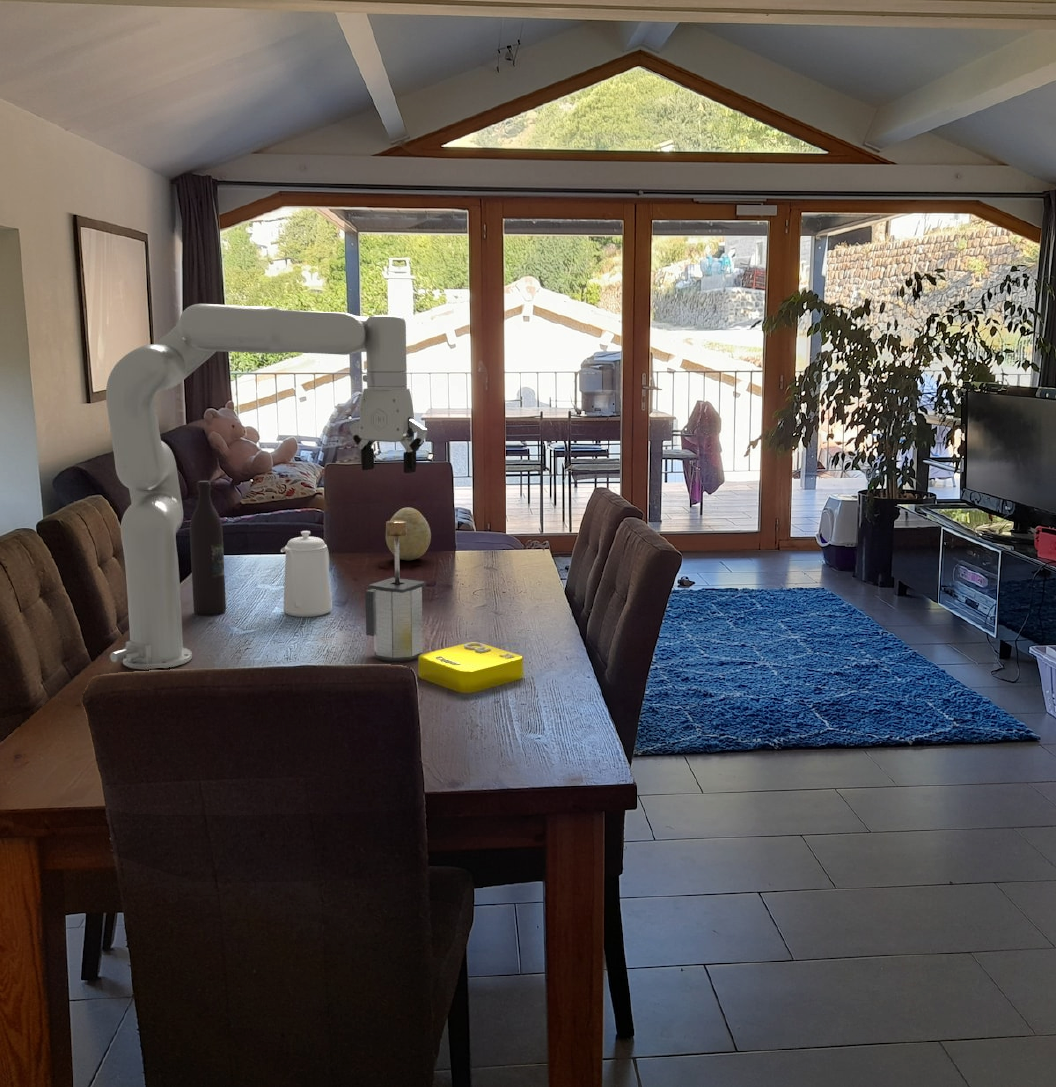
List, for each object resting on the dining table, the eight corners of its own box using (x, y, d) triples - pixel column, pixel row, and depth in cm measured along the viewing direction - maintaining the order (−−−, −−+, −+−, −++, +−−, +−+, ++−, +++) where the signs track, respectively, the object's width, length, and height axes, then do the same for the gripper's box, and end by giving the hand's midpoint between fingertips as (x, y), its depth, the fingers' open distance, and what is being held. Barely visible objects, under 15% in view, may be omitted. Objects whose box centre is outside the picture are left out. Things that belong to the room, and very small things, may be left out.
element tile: (413, 677, 201) (413, 652, 200) (474, 661, 211) (474, 638, 210) (466, 696, 190) (466, 670, 189) (527, 679, 200) (528, 654, 199)
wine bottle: (216, 617, 242) (210, 483, 236) (187, 615, 243) (181, 482, 238) (231, 609, 249) (226, 479, 243) (203, 608, 250) (197, 478, 244)
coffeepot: (260, 625, 235) (257, 540, 232) (306, 598, 260) (304, 521, 256) (307, 627, 233) (305, 542, 230) (349, 601, 257) (347, 523, 254)
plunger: (401, 600, 206) (400, 526, 204) (373, 596, 210) (372, 523, 207) (421, 594, 212) (420, 521, 210) (393, 590, 215) (392, 518, 213)
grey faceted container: (404, 665, 207) (403, 590, 204) (355, 656, 212) (353, 583, 210) (430, 653, 215) (430, 581, 212) (383, 645, 220) (382, 575, 218)
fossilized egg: (414, 553, 316) (414, 502, 313) (439, 560, 306) (439, 508, 303) (377, 559, 308) (376, 506, 305) (402, 566, 298) (401, 512, 296)
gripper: (338, 381, 206) (340, 470, 209) (414, 382, 198) (415, 475, 202) (361, 379, 213) (363, 466, 216) (436, 381, 205) (437, 471, 208)
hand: (388, 471), depth 209 cm, fingers open, 9 cm apart
